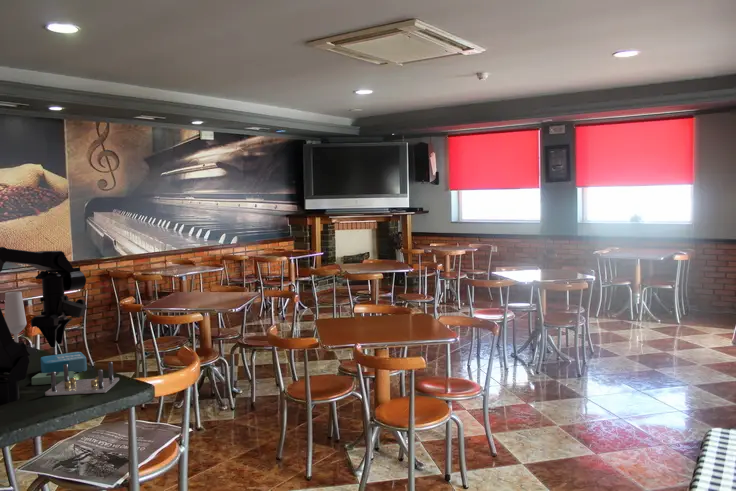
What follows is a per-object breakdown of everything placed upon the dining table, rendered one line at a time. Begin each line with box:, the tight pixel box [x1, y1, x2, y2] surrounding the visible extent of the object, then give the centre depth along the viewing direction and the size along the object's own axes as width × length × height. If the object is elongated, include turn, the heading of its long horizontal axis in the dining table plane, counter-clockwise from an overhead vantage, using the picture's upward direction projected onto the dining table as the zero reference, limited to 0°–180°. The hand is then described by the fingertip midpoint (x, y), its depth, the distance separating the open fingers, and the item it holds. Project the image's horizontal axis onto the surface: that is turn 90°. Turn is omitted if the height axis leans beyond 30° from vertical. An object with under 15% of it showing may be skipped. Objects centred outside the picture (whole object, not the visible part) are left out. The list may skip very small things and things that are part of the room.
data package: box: [39, 351, 88, 373], centre depth 194 cm, size 12×4×12 cm
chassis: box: [44, 361, 120, 397], centre depth 174 cm, size 12×16×6 cm
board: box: [31, 371, 75, 386], centre depth 183 cm, size 6×10×3 cm, turn 99°
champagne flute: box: [3, 291, 28, 342], centre depth 208 cm, size 7×7×24 cm
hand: (56, 345), depth 181 cm, fingers open, 4 cm apart
